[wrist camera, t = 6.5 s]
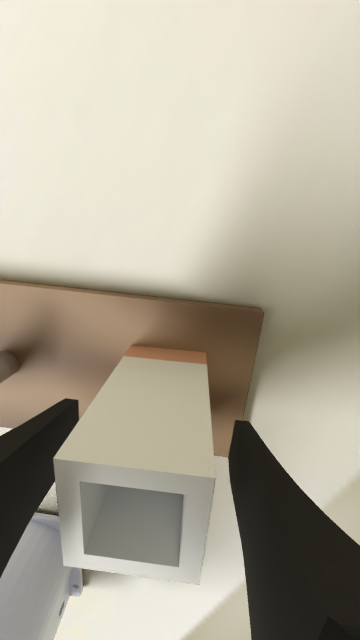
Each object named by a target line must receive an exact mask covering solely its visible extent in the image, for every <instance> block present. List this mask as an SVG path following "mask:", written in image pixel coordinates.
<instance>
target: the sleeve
mask: <svg viewBox="0 0 360 640" xmlns="http://www.w3.org/2000/svg"><path fill="white" fill-rule="evenodd" d="M53 463H54V473H55V483H56V493H57V503H58V514H59V524H60V534H61V544H62V554H63V564H64V566H69V567H76V568H83V569H90V570H97V571H104V572H111V573H118V574H125V575H132V576H139V577H146V578H153V579H160V580H167V581H174V582H181V583H188V584H195V585H199V584H200V578H201V571H202V565H203V558H204V551H205V545H206V538H207V532H208V525H209V518H210V512H211V505H212V499H213V492H214V485H215V479H216V477H215V464H214V451H213V437H212V424H211V411H210V398H209V385H208V372H207V359H206V352H196V351H185V350H175V349H165V348H155V347H144V346H134V345H131V346H130V347H129V349H128V350H127V352H126V353H125V355H124V356H123V357H122V359H121V360H120V362H119V363H118V365H117V366H116V368H115V369H114V371H113V372H112V373H111V375H110V376H109V378H108V379H107V381H106V382H105V384H104V385H103V387H102V388H101V389H100V391H99V392H98V394H97V395H96V397H95V398H94V400H93V401H92V403H91V404H90V405H89V407H88V408H87V410H86V411H85V413H84V414H83V416H82V417H81V419H80V420H79V421H78V423H77V424H76V426H75V427H74V429H73V430H72V432H71V433H70V435H69V436H68V437H67V439H66V440H65V442H64V443H63V445H62V446H61V448H60V449H59V451H58V452H57V453H56V455H55V456H54V458H53Z"/></svg>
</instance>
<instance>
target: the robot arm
mask: <svg viewBox="0 0 360 640" xmlns="http://www.w3.org/2000/svg"><path fill="white" fill-rule="evenodd" d="M78 421H79V402H78V400H76V399H68V398H65V399H63V400H61V401H60V402H58V403H56V404H55V405H53V406H51V407H50V408H48V409H46V410H45V411H43V412H41V413H40V414H38V415H36V416H35V417H33V418H31V419H30V420H28V421H26V422H25V423H23V424H21V425H19V426H18V427H16V428H14V429H12V430H10V431H9V432H7V433H5V434H3V435H1V436H0V640H53V639H54V637H55V634H56V631H57V629H58V626H59V623H60V620H61V618H62V615H63V612H64V610H65V607H66V604H67V601H68V599H69V596H70V595H71V596H80V595H81V593H82V590H83V578H82V568H76V567H69V566H64V564H63V554H62V544H61V534H60V524H59V516H56V515H50V514H43V513H36V510H37V509H38V507H39V505H40V504H41V502H42V501H43V499H44V497H45V496H46V494H47V493H48V491H49V490H50V488H51V486H52V485H53V483H54V482H55V473H54V463H53V458H54V456H55V455H56V453H57V452H58V451H59V449H60V448H61V446H62V445H63V443H64V442H65V440H66V439H67V437H68V436H69V435H70V433H71V432H72V430H73V429H74V427H75V426H76V424H77V423H78ZM228 460H229V474H230V483H231V489H232V494H233V500H234V505H235V510H236V516H237V521H238V527H239V532H240V537H241V543H242V550H243V556H244V566H245V575H246V585H247V595H248V604H249V616H250V625H251V638H252V640H360V546H359V545H358V544H357V543H356V542H355V541H354V540H353V539H351V538H350V537H349V536H348V535H347V534H346V533H345V532H344V531H343V530H341V528H340V527H338V526H337V525H336V524H335V523H334V522H333V521H332V520H331V519H330V518H329V517H328V516H327V515H326V514H325V513H324V512H323V511H322V510H321V509H320V508H319V507H318V506H317V505H316V504H315V503H314V502H313V501H312V500H311V499H310V498H309V497H308V496H307V495H306V494H305V493H304V492H303V491H302V489H301V488H300V487H299V486H298V485H297V484H296V483H295V482H294V480H293V479H292V478H291V477H290V476H289V474H288V473H287V472H286V471H285V470H284V468H283V467H282V466H281V465H280V463H279V462H278V461H277V459H276V458H275V457H274V456H273V454H272V453H271V452H270V450H269V449H268V448H267V446H266V445H265V443H264V442H263V441H262V439H261V438H260V436H259V435H258V434H257V432H256V431H255V429H254V428H253V426H252V425H251V424H250V422H249V421H241V420H235V423H234V429H233V434H232V439H231V444H230V449H229V455H228Z"/></svg>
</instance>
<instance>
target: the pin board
mask: <svg viewBox="0 0 360 640" xmlns="http://www.w3.org/2000/svg"><path fill="white" fill-rule="evenodd" d="M263 316H264V312H263V311H262V310H261V309H260V308H256V307H246V306H237V305H228V304H219V303H209V302H200V301H191V300H182V299H172V298H163V297H154V296H145V295H135V294H126V293H117V292H108V291H98V290H89V289H80V288H71V287H61V286H52V285H43V284H34V283H24V282H15V281H6V280H0V427H6V428H13V429H14V428H16V427H18V426H19V425H21V424H23V423H25V422H26V421H28V420H30V419H31V418H33V417H35V416H36V415H38V414H40V413H41V412H43V411H45V410H46V409H48V408H50V407H51V406H53V405H55V404H56V403H58V402H60V401H61V400H63V399H65V398H68V399H76V400H78V402H79V420H80V419H81V417H82V416H83V414H84V413H85V411H86V410H87V408H88V407H89V405H90V404H91V403H92V401H93V400H94V398H95V397H96V395H97V394H98V392H99V391H100V389H101V388H102V387H103V385H104V384H105V382H106V381H107V379H108V378H109V376H110V375H111V373H112V372H113V371H114V369H115V368H116V366H117V365H118V363H119V362H120V360H121V359H122V357H123V356H124V355H125V353H126V352H127V350H128V349H129V347H130V346H131V345H134V346H144V347H155V348H165V349H175V350H185V351H196V352H206V359H207V372H208V385H209V398H210V411H211V424H212V437H213V451H214V455H215V456H223V457H228V455H229V449H230V444H231V439H232V434H233V429H234V423H235V420H241V421H242V420H243V415H244V410H245V405H246V400H247V395H248V390H249V385H250V380H251V375H252V371H253V366H254V361H255V356H256V351H257V346H258V341H259V336H260V331H261V326H262V321H263Z"/></svg>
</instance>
